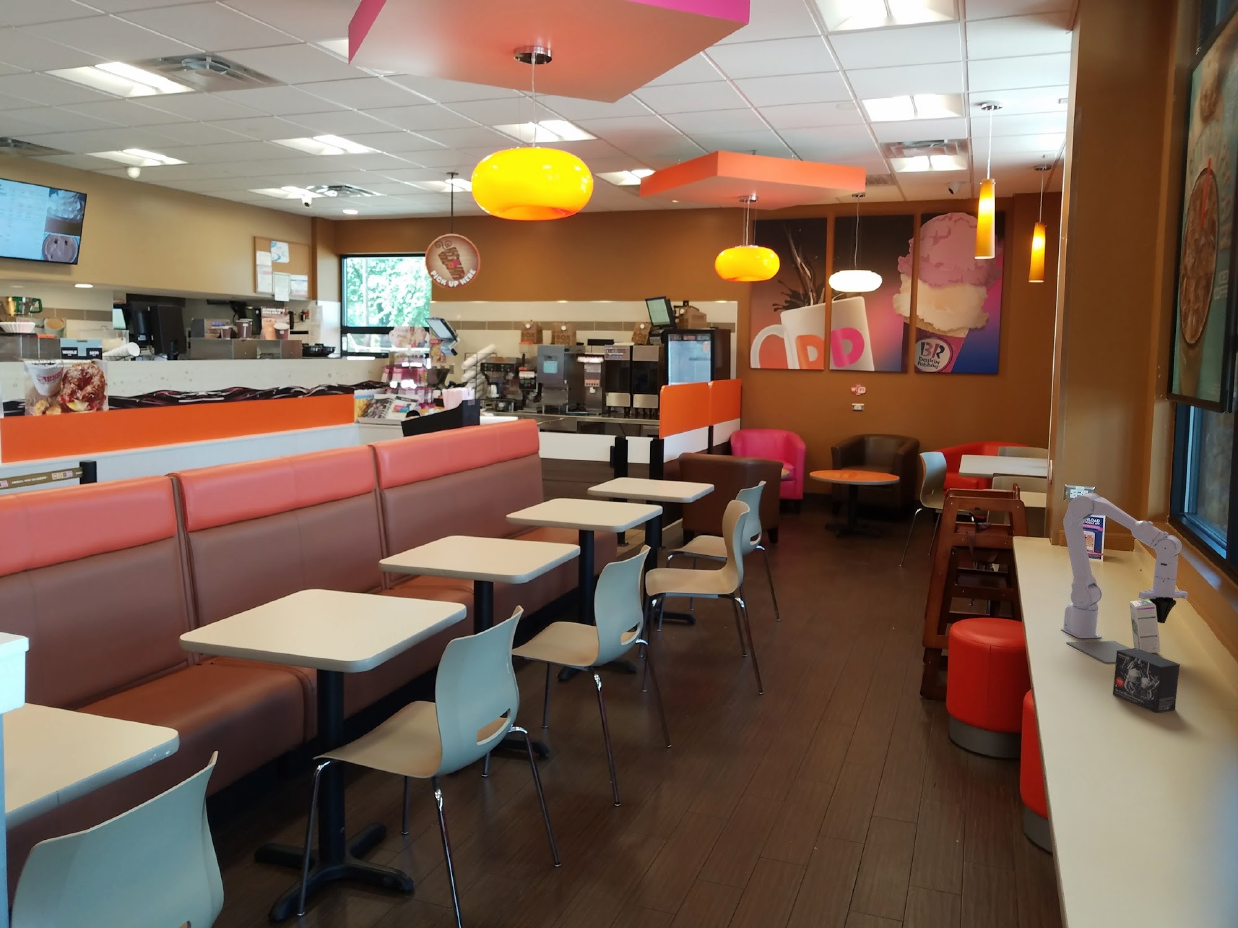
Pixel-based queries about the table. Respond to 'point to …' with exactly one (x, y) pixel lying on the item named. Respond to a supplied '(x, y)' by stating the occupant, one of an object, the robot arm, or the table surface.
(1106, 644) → the grey mat
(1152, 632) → the syrup box
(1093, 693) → the table surface
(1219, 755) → the table surface
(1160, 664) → the small box
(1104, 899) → the table surface
